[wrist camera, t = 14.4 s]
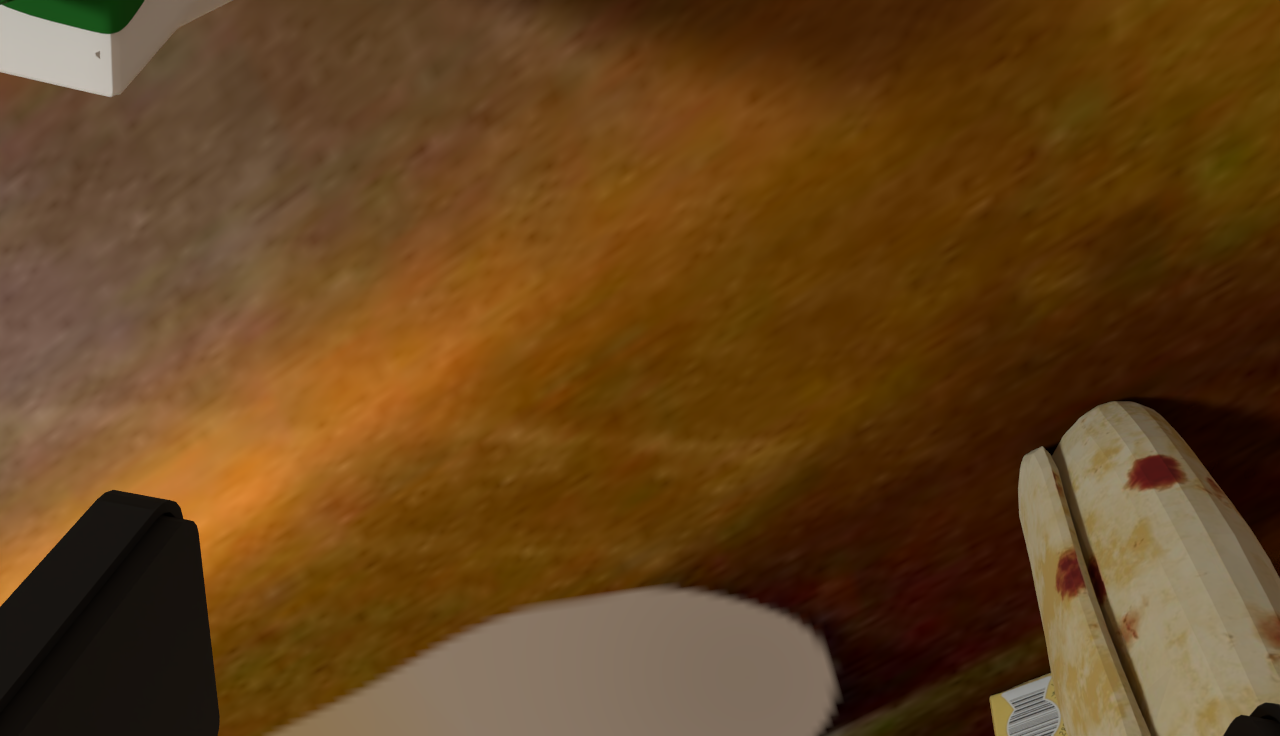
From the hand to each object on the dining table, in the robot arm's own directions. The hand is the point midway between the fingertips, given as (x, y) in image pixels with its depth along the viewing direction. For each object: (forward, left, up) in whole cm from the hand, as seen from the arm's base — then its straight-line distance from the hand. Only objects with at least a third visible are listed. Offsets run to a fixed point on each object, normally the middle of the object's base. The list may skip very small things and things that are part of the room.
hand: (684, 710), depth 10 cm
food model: (-16, +16, -31) cm, 38 cm away
